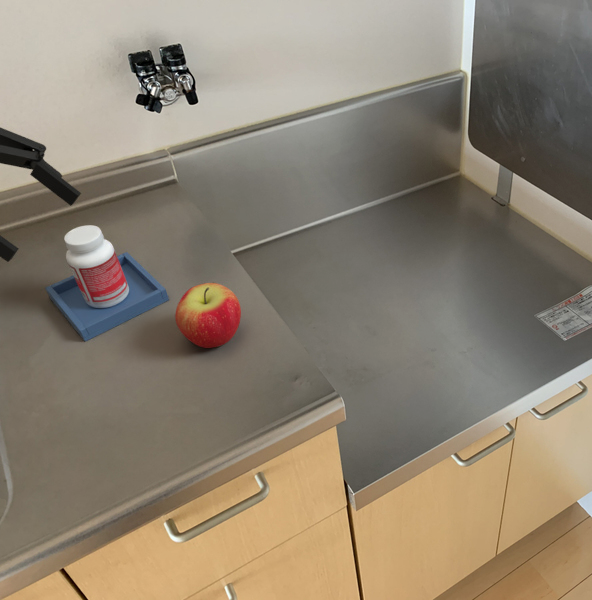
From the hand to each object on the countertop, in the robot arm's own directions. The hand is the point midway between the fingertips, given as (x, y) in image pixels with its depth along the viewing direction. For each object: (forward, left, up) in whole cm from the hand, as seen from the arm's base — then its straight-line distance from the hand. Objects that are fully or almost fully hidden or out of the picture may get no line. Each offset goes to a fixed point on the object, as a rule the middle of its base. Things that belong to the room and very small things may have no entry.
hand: (46, 226), depth 83 cm
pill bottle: (+3, -4, -12) cm, 13 cm away
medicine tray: (+3, -4, -12) cm, 13 cm away
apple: (+10, -22, -13) cm, 27 cm away
